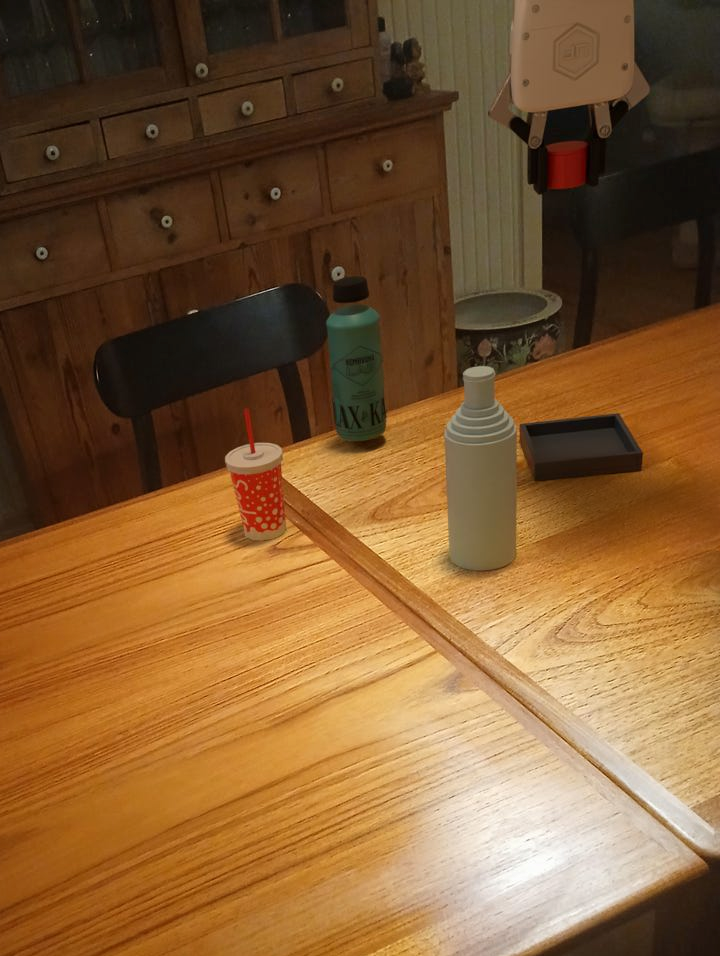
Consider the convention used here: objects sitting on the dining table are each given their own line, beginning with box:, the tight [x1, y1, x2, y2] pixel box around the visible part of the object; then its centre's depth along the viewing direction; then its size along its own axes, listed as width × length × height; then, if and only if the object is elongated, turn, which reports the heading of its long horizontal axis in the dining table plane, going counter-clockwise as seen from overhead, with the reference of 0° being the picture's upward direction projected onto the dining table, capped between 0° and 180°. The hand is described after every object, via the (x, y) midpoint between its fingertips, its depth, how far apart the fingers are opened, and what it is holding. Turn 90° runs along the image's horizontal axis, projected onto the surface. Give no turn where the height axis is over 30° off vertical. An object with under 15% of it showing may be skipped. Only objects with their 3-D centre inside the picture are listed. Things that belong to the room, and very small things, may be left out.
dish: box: [519, 412, 644, 482], centre depth 111 cm, size 11×11×2 cm
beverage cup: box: [224, 407, 287, 542], centre depth 104 cm, size 6×6×14 cm
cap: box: [544, 140, 588, 190], centre depth 91 cm, size 4×4×3 cm
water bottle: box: [443, 365, 518, 572], centre depth 91 cm, size 6×6×18 cm
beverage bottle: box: [325, 275, 388, 442], centre depth 118 cm, size 6×7×20 cm
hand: (565, 185), depth 92 cm, fingers closed on cap, 4 cm apart
